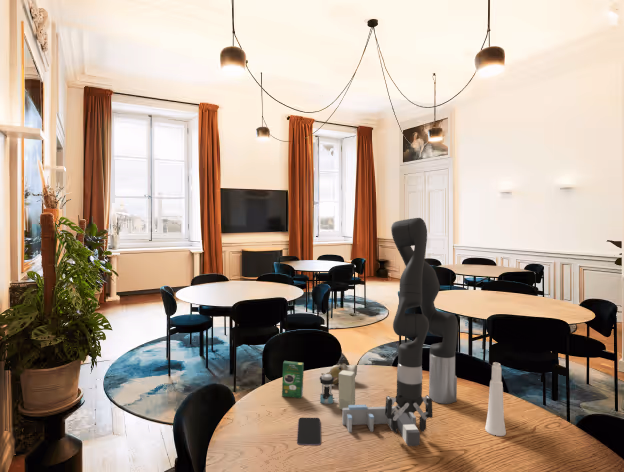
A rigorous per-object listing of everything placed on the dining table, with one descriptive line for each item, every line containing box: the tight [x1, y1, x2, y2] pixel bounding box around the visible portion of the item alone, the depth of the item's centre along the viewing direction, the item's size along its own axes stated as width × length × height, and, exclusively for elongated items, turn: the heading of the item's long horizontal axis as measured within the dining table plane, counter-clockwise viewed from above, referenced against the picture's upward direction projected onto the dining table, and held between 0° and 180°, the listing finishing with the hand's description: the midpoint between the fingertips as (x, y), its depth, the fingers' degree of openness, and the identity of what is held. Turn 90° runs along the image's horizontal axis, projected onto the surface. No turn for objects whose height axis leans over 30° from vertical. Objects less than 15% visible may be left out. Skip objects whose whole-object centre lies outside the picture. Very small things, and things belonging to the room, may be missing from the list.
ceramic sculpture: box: [321, 362, 358, 385], centre depth 158 cm, size 11×9×15 cm
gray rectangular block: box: [397, 413, 421, 447], centre depth 117 cm, size 12×4×4 cm, turn 6°
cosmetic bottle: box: [484, 361, 507, 437], centre depth 120 cm, size 6×6×22 cm
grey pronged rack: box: [341, 404, 417, 433], centre depth 122 cm, size 24×6×6 cm, turn 96°
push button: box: [319, 373, 338, 404], centre depth 139 cm, size 7×5×10 cm
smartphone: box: [296, 417, 322, 446], centre depth 118 cm, size 7×1×15 cm
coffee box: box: [281, 360, 305, 399], centre depth 144 cm, size 8×3×13 cm, turn 79°
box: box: [338, 370, 356, 410], centre depth 135 cm, size 5×4×13 cm
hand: (408, 430), depth 115 cm, fingers open, 8 cm apart
